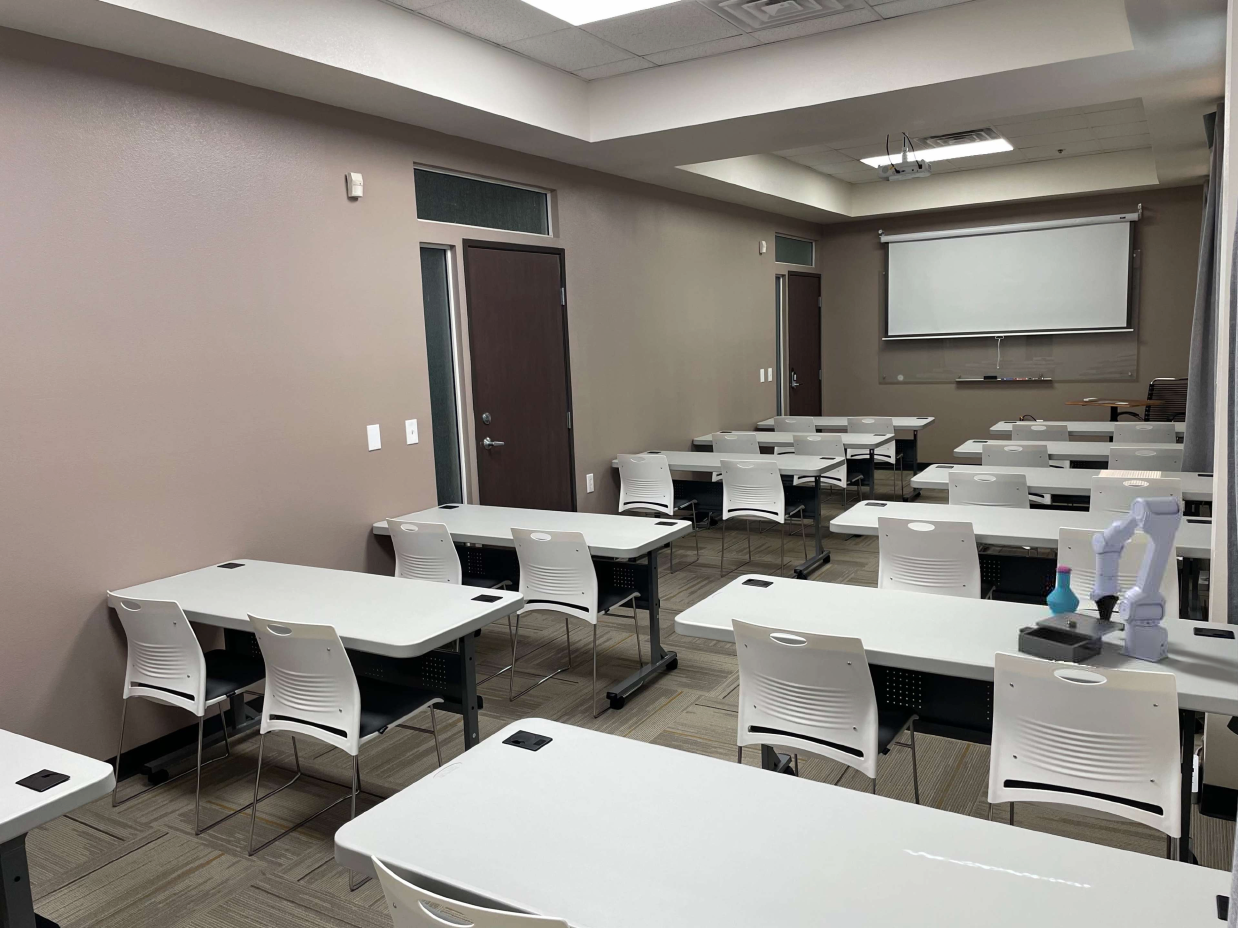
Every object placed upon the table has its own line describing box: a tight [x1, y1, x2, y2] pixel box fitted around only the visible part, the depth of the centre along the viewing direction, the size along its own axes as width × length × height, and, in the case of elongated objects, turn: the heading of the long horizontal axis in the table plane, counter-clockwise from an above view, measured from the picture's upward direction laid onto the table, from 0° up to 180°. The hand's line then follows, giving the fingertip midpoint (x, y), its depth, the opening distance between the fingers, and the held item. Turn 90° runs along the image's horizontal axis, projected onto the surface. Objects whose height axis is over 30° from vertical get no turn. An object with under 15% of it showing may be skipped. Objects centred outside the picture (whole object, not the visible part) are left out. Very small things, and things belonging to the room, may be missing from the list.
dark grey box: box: [1017, 626, 1104, 664], centre depth 236 cm, size 21×15×5 cm
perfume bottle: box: [1046, 565, 1081, 616], centre depth 270 cm, size 9×9×15 cm
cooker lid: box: [1035, 611, 1126, 640], centre depth 241 cm, size 16×17×3 cm
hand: (1105, 619), depth 249 cm, fingers closed
